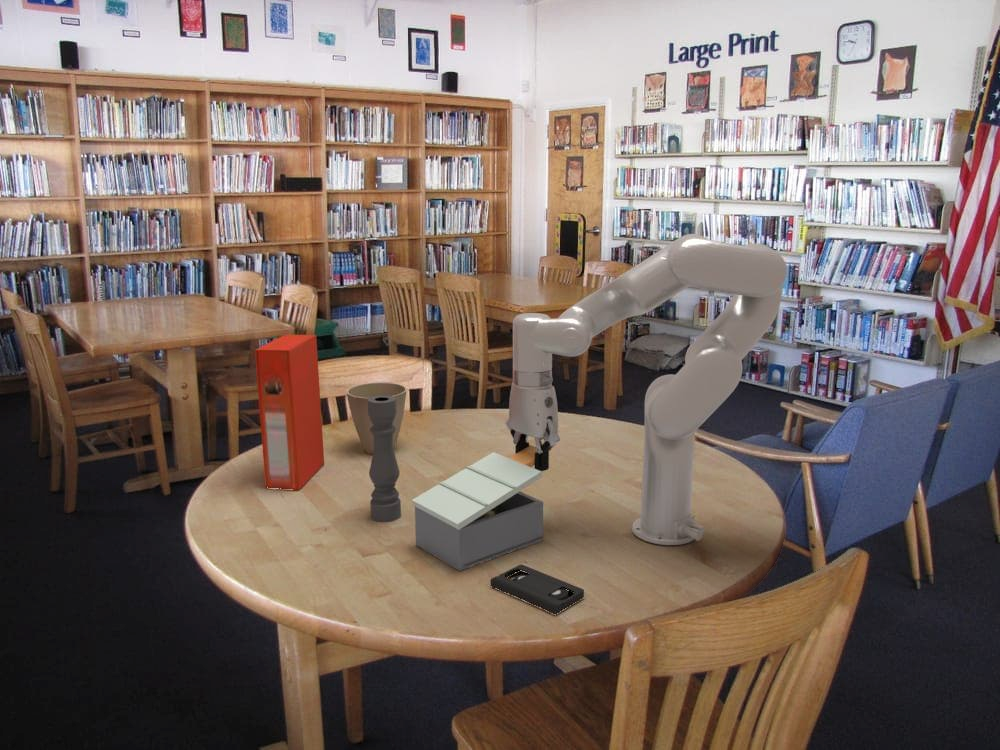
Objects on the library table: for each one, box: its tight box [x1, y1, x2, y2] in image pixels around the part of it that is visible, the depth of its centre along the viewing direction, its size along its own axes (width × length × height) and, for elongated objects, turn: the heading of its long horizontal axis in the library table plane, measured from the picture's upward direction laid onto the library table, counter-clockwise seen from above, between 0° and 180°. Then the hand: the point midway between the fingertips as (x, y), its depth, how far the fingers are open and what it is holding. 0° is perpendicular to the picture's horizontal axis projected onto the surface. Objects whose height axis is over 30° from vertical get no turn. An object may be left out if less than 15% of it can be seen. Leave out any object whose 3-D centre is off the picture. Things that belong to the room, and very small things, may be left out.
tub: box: [414, 491, 544, 572], centre depth 162 cm, size 14×20×8 cm
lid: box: [411, 444, 543, 530], centre depth 161 cm, size 14×26×2 cm, turn 129°
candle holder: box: [367, 396, 402, 523], centre depth 172 cm, size 6×6×25 cm
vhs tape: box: [490, 564, 585, 614], centre depth 144 cm, size 14×8×2 cm, turn 48°
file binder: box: [254, 334, 325, 491], centre depth 194 cm, size 8×17×32 cm, turn 173°
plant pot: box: [346, 382, 407, 455], centre depth 214 cm, size 15×15×16 cm
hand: (531, 465), depth 168 cm, fingers closed on lid, 5 cm apart
